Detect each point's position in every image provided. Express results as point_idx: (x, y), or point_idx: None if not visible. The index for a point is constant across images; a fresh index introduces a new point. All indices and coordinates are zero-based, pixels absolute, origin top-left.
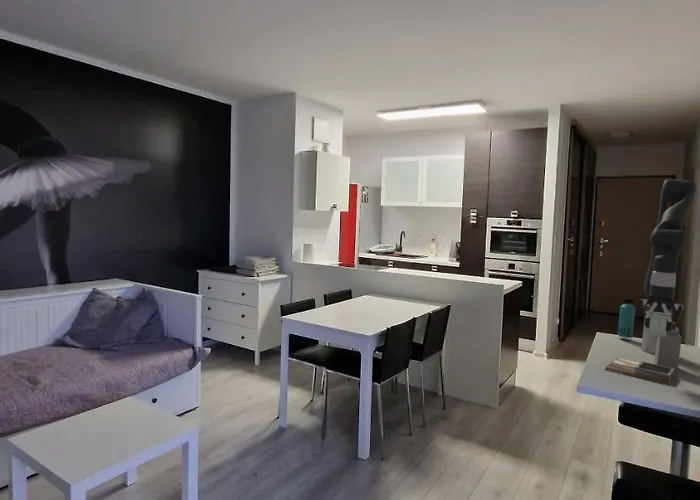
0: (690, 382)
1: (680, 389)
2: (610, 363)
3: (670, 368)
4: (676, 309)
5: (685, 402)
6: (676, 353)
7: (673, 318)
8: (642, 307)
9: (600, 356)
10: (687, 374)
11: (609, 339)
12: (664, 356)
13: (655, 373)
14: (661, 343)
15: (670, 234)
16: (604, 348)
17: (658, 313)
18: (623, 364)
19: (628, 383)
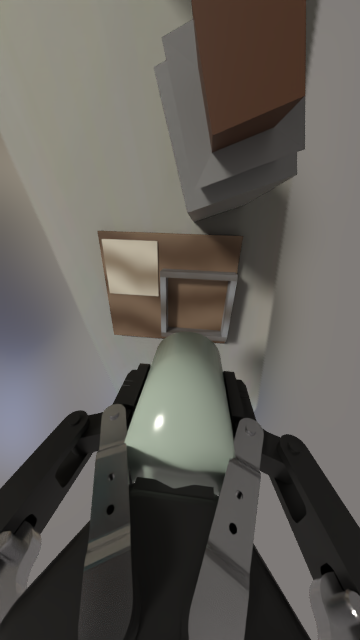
0: (267, 288)
1: (243, 348)
2: (109, 302)
3: (228, 280)
4: (315, 604)
5: None
6: (250, 198)
7: (265, 469)
8: (54, 509)
9: (61, 231)
10: (269, 213)
11: None
12: (210, 213)
13: None
14: (197, 214)
15: None
16: (6, 87)
17: (169, 470)
18: (130, 291)
19: None
